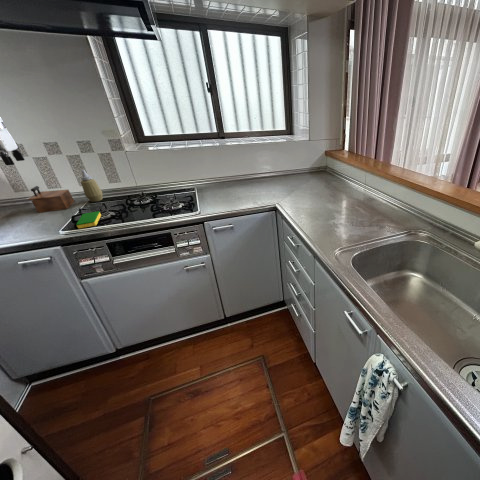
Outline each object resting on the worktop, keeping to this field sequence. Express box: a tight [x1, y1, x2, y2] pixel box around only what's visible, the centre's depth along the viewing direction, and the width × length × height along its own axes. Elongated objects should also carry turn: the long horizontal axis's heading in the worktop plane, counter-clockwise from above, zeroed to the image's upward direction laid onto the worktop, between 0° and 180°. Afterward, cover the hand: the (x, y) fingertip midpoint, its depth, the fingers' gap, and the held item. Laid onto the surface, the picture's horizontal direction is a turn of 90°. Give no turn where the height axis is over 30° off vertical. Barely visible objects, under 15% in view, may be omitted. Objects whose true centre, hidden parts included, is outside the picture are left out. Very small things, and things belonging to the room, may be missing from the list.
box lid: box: [27, 185, 70, 201], centre depth 145 cm, size 13×12×5 cm
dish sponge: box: [75, 210, 102, 229], centre depth 132 cm, size 7×14×2 cm, turn 27°
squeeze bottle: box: [80, 169, 103, 203], centre depth 154 cm, size 8×8×18 cm
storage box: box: [31, 190, 75, 214], centre depth 149 cm, size 13×12×7 cm
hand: (15, 162), depth 136 cm, fingers open, 9 cm apart
